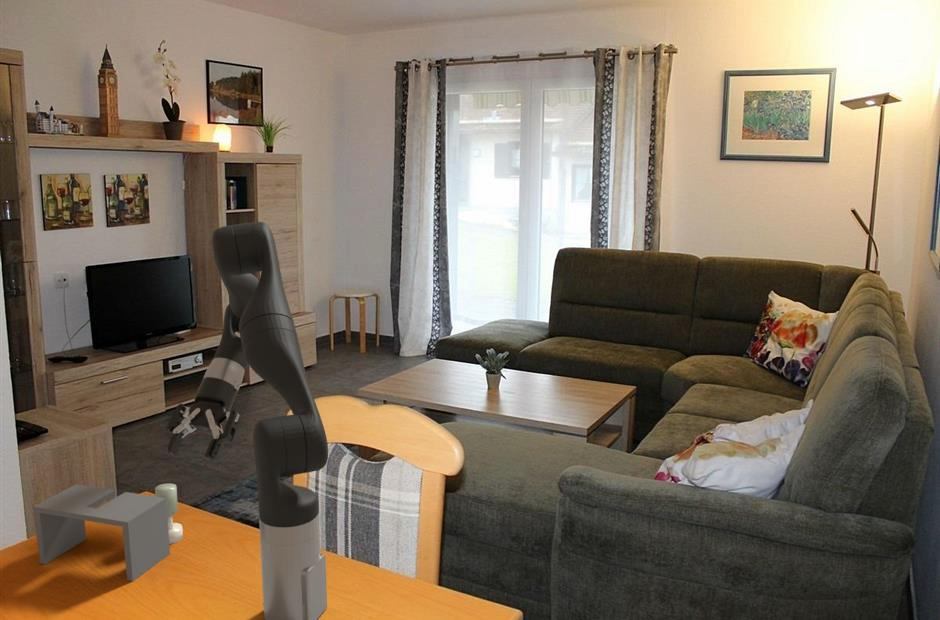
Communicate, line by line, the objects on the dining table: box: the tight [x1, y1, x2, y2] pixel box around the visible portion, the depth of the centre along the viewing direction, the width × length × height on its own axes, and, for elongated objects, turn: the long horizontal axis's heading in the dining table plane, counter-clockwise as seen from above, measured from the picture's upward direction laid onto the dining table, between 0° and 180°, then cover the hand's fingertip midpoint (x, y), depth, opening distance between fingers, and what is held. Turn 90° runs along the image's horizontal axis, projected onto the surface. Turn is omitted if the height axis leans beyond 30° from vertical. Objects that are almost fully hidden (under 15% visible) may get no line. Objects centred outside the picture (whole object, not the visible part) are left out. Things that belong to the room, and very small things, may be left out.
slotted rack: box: [33, 483, 171, 582], centre depth 144 cm, size 20×10×11 cm, turn 73°
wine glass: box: [154, 482, 184, 545], centre depth 152 cm, size 5×5×10 cm
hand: (189, 456), depth 157 cm, fingers open, 8 cm apart
